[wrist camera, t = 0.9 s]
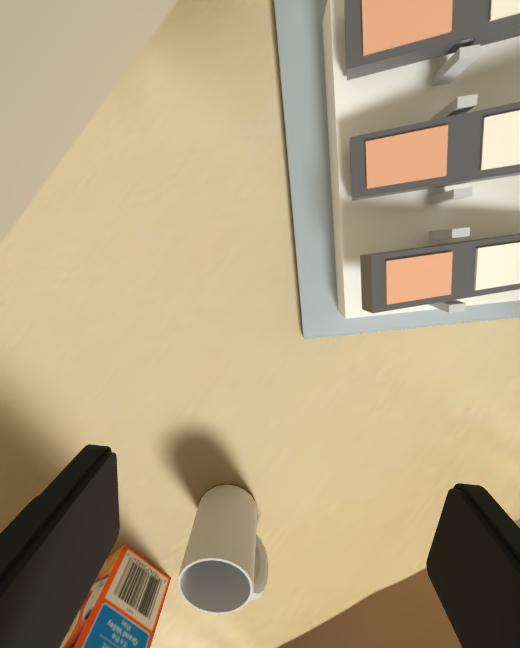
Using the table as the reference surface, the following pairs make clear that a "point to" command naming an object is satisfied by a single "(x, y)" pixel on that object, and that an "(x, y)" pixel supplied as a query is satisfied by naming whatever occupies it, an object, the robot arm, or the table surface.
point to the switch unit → (391, 210)
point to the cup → (224, 553)
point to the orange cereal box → (120, 604)
